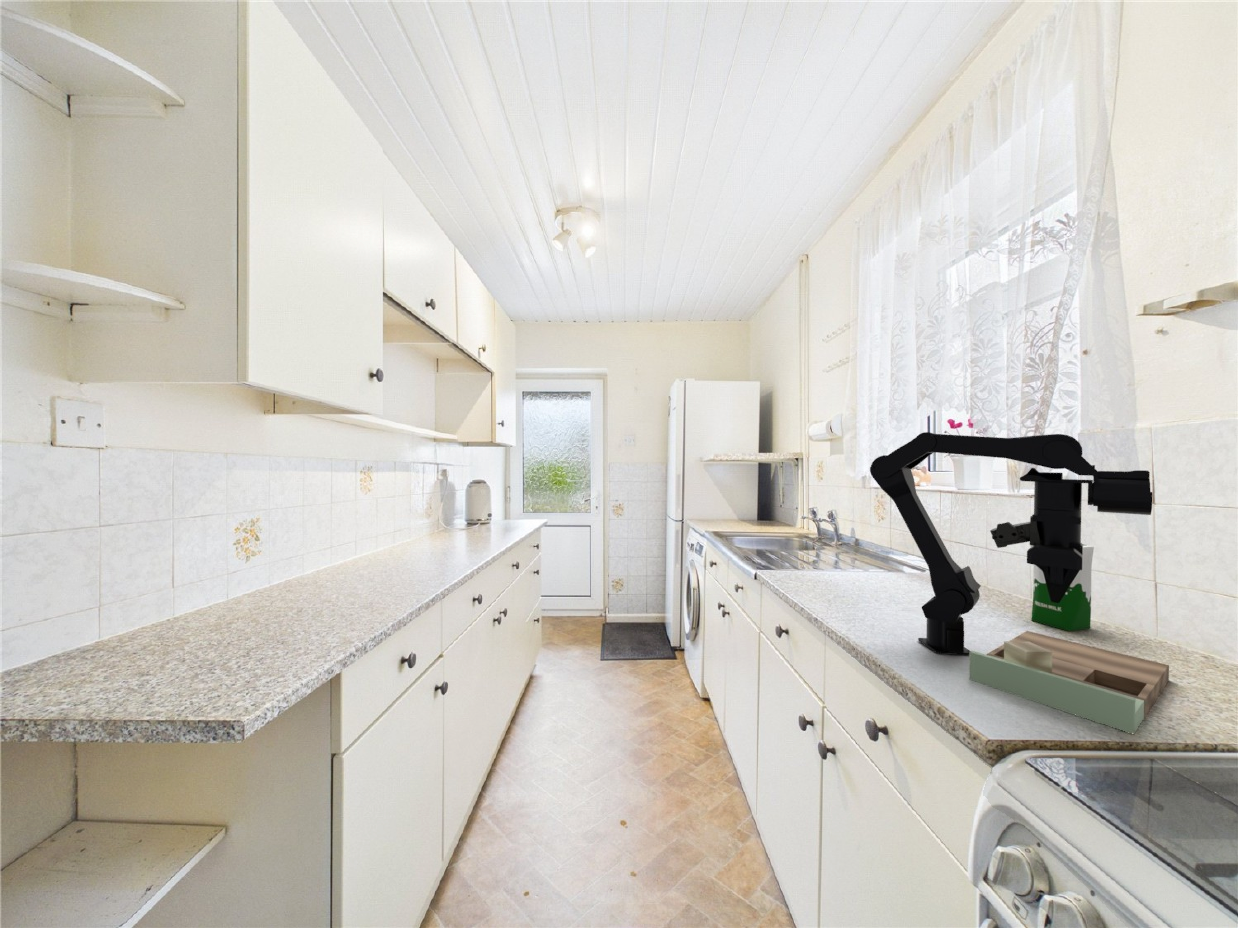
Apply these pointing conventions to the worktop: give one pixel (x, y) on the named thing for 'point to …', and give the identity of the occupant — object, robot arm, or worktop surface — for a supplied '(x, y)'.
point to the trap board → (1100, 667)
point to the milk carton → (1065, 599)
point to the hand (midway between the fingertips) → (1055, 602)
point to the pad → (1058, 692)
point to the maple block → (1028, 655)
